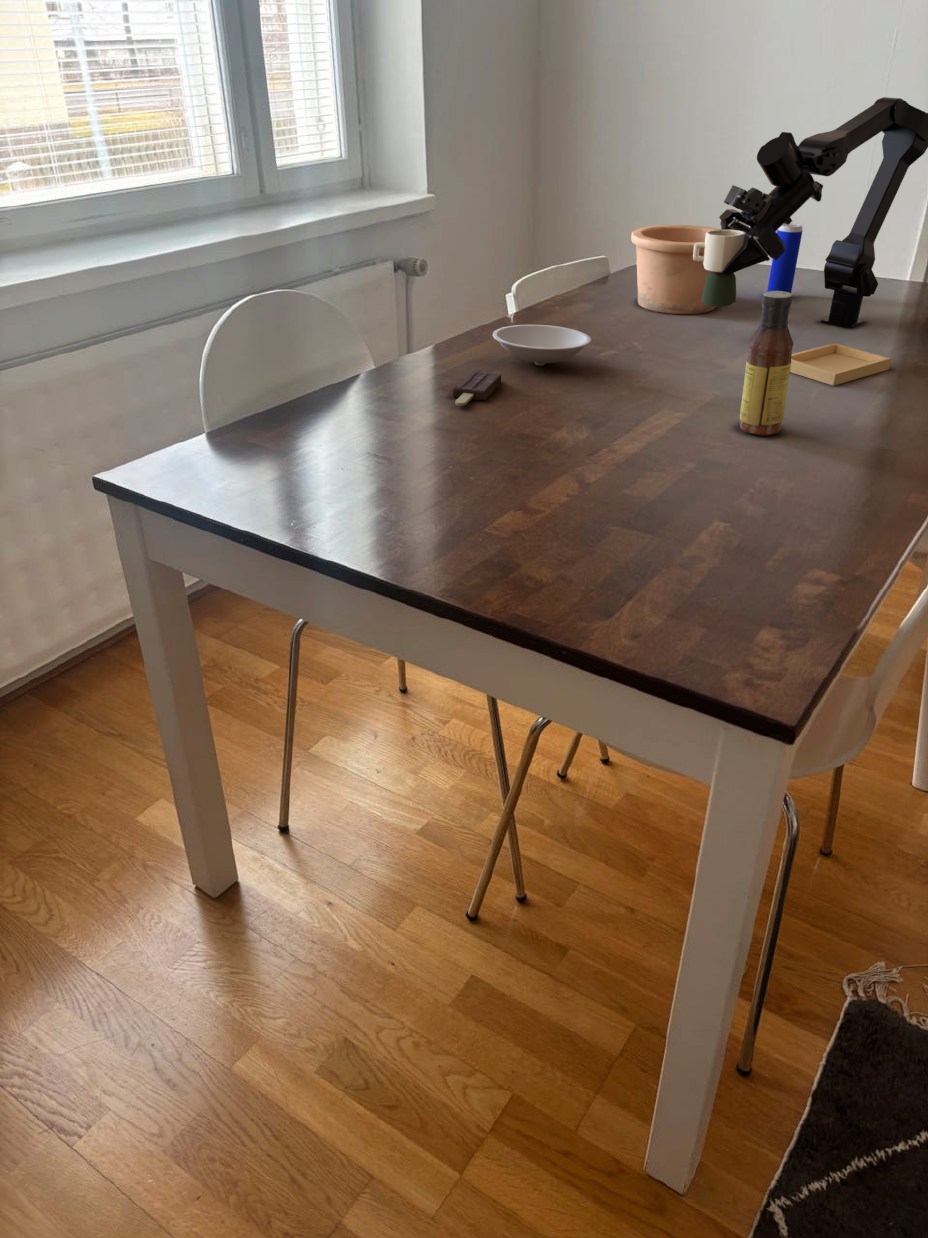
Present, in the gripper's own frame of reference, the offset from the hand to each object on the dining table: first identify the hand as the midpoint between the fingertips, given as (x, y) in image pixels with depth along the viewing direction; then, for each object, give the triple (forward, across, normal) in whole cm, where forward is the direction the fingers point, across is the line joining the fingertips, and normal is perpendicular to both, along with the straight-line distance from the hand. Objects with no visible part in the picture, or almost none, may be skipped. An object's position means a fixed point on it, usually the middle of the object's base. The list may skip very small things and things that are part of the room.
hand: (715, 268), depth 176 cm
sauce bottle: (+16, +46, +3) cm, 49 cm away
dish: (+34, +10, -15) cm, 39 cm away
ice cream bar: (+44, +25, -26) cm, 56 cm away
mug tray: (-2, +20, +21) cm, 29 cm away
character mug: (+4, 0, +6) cm, 7 cm away
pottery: (+7, -27, +12) cm, 30 cm away
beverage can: (-10, -31, +30) cm, 44 cm away
